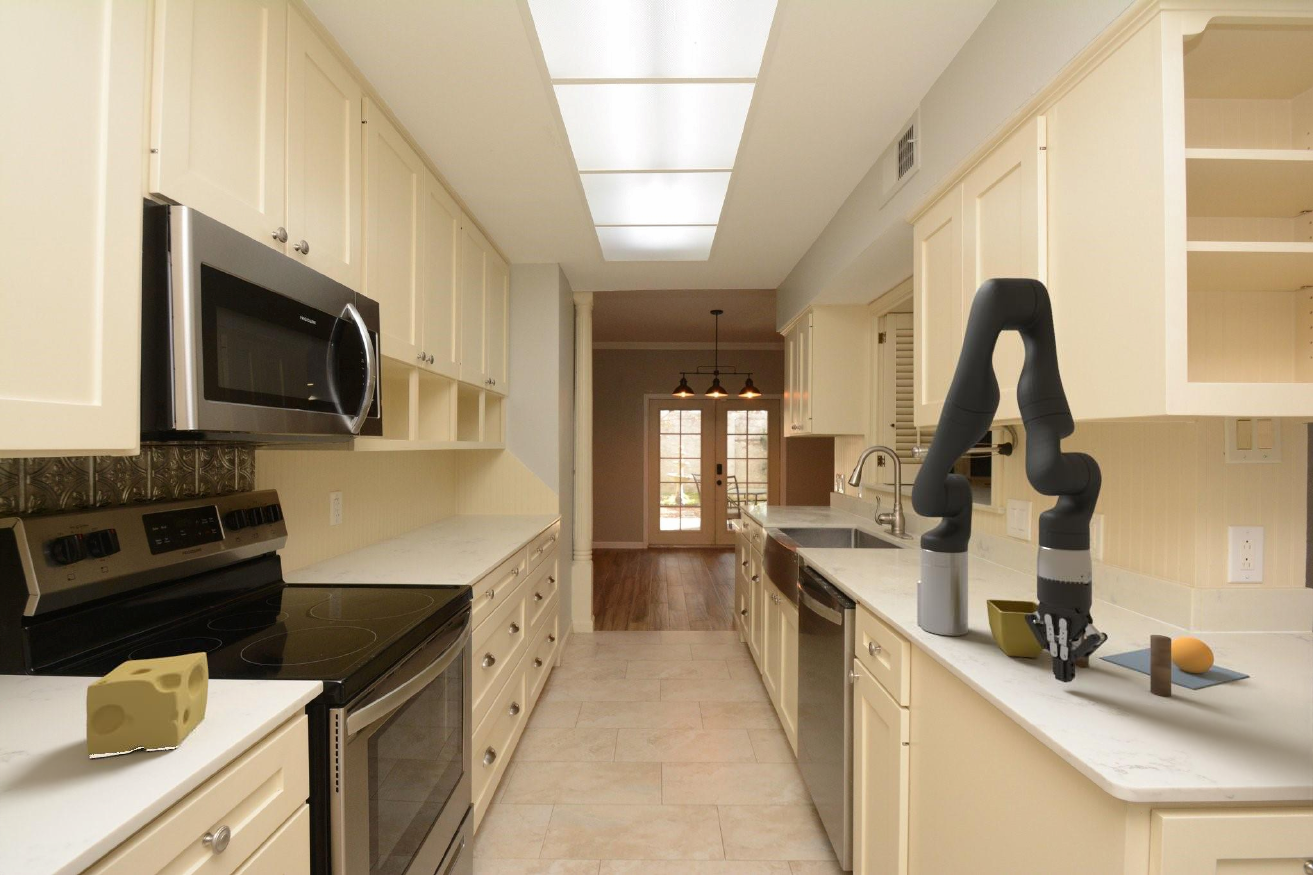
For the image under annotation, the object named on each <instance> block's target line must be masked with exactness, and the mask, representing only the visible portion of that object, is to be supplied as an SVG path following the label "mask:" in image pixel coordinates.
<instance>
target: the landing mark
mask: <svg viewBox="0 0 1313 875" xmlns="http://www.w3.org/2000/svg"><path fill="white" fill-rule="evenodd" d="M1099 659H1100V660H1103V661H1105V662H1109V663H1112V664H1115V665H1118V666H1121V667H1124V668H1127V669H1131V670H1133V671H1136V672H1138V673H1142V674H1145V675H1149V676H1150V647H1149V648H1143V649H1138V650H1137V649H1136V650H1133V651H1132V650H1131V651H1127V652H1121V653H1117V654H1111V655H1106V656H1105V655H1104V656H1101V657H1099ZM1249 677H1250V675H1248V674H1245V673H1243V672H1238V671H1234V670H1231V669H1228V668H1224V667H1222V666H1218V665H1215V664H1213V665H1212V667H1211V668H1210V669H1209V670H1207V671H1206V672H1203V673H1189V672H1186V671H1183V670H1181V669H1180V668H1178V667H1177V666H1176V665H1175V664H1174V663H1173V662H1172V661H1171V684H1175V685H1178V686H1181V687H1184V688H1187V689H1191V690H1193V691H1194V690H1197V689H1203V688H1206V687H1210V686H1215V685H1219V684H1220V685H1221V684H1223V683H1224V684H1225V683H1227V682H1231V681H1237V680H1241V679H1244V678H1245V679H1246V678H1249Z"/></svg>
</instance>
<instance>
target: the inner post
mask: <svg viewBox="0 0 1313 875" xmlns="http://www.w3.org/2000/svg"><path fill="white" fill-rule="evenodd" d="M1085 634H1086V632H1085V633H1084V634H1083V635H1082V636H1081V643H1082V642H1083V641H1084V640H1085V639H1084V636H1085ZM1075 667H1078V668H1081V669H1082V668H1083V669H1084V668H1085V669H1086V668H1089V667H1090V656H1089V657H1088V658H1085V659H1084V658H1083V659H1079V660H1076V661H1075Z"/></svg>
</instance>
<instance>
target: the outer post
mask: <svg viewBox="0 0 1313 875" xmlns="http://www.w3.org/2000/svg"><path fill="white" fill-rule="evenodd" d="M1149 638H1150V639H1149V642H1150V644H1149V645H1150V646H1149V648H1150V675H1149V676H1150V693H1151V694H1154V695H1156V696H1160V697H1165V698H1168V697H1171V696H1172V682H1171V643H1172V637H1168V636H1166V635H1160V634H1151V635H1150V636H1149Z"/></svg>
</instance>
